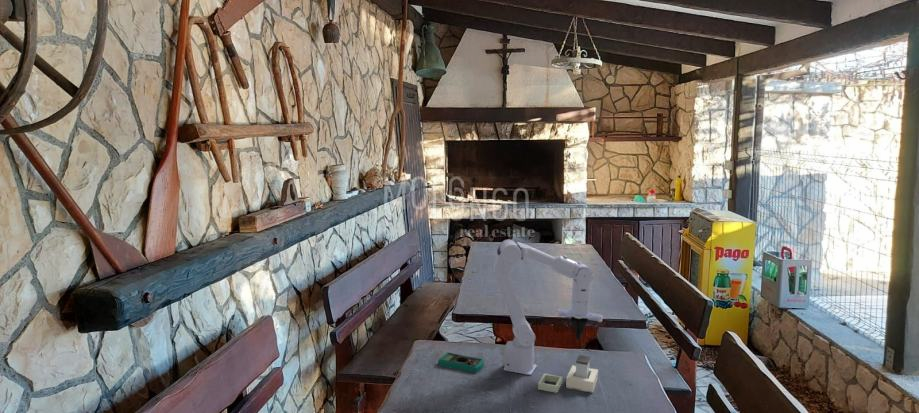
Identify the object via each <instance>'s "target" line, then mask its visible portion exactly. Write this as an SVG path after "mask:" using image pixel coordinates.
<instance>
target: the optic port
mask: <svg viewBox="0 0 919 413" xmlns="http://www.w3.org/2000/svg"><path fill="white" fill-rule="evenodd" d="M598 377H599V369H597V368H592V367H590V368H589V379H586V378H581V377H576V365H574V364H572V366H571V367H570V370H569V371H568V373H567V376H566V380H565V382H566V383H565V385H566V386H565V389H571V390H575V391H579V392H584V393H585V392H586V393H591V394H593V393H594V392H595V388H596V385H597V382H598V379H599V378H598Z"/></svg>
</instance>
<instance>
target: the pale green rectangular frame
mask: <svg viewBox="0 0 919 413" xmlns="http://www.w3.org/2000/svg"><path fill="white" fill-rule="evenodd" d="M563 377H564V376H560V375H555V374H550V373H543V374H542V376H541V378H540V379H539V380H538V383H537V390H540V391H545V392H550V393H555V394H558V393H559V391H558V390H560V389H559V388H561V387H562V385H561V384H563V381H564V380H563ZM546 382H550V383H546ZM551 382H552V383H555V384H551ZM560 386H561V387H560ZM557 392H558V393H557Z"/></svg>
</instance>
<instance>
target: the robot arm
mask: <svg viewBox="0 0 919 413" xmlns="http://www.w3.org/2000/svg"><path fill="white" fill-rule="evenodd" d="M527 260H534V261H535V262H539V263H541V264H544V265H546V266H549V267H551V269H552V270H551V271H552V272H554V273H557V274H558V275H559V274H560V275H562V276H564V277H567V278H569V279H572V291H571V309H561V308H559V309H558V310H557V316H558V317H567V318H571V319H570V324H571V326H572V328H573V330H574V334H575V338H576V339H575V340H576V341H582V337H583V333H584V330H585V327H586V325H587V323H588V321H594V322H595V321H596V322H598V323H602V321H603V314H598V313H595V312H591V311H590V298H591V297H590V295H591V294H590V293H591V282H592V281H593V279H594V275H593V272H592V270H591V269H590V268H589V267H588V266H587V265H586V264H584V263H583V262H581V261H578V260H576V261H575V260H572V259H570V258H568V256H567V255H565V254H562V255H561V254H560V255H557V256H553V255H550V254H548V253H546V252H544V251H542V250H539V249H538V248H534V247H532V246H531V245H529V244H526V243H523V242H521V241H515V240H513V239H504V240H503V241H501V243H500V244H499V245H498V247H497V249H496V252H495V258H494V262H493V268H492V272H493V275H494V277H495V280H496V283H497V286H498V289H499V291H500V294H501V296H502V298H503V301H504V304H505V306H506V309H507V312H508V314H509V317H510V319H511V323H512V333H513V335H514V337H513V339H512V340H509V341H506V344H505V349H504V364H503V366H504V368H503V371H504V372H505V371H506V372H512V373H518V374H522V375H528V376H531V375H533V373H534V371H535V369H536V368H537V366H538V365H537V364H536V363H534V359H535V355H534V354H535V341H536V334H535V333H534V331H533V329H532V328H531V324H530V323H529V322H528V321H527V319H526V317H525V314H524V311H523V308H522V306H521V303H520V301H519V298H518V295H517V292H516V290H515V287H514V285H513V283H512V279H511V276H510V275H509V274H510V272H511V270H512V269H513V267H515V265H517V264H518V263H519V262H520V261H522V262H526V261H527Z"/></svg>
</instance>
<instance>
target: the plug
mask: <svg viewBox="0 0 919 413" xmlns="http://www.w3.org/2000/svg"><path fill="white" fill-rule="evenodd" d="M575 361H576V362H575V366H576V377H581V378H586V379H589V368H591V364H590V363H591V356H588V355H582V354H579V355H578V356H577V358H576V360H575Z"/></svg>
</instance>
